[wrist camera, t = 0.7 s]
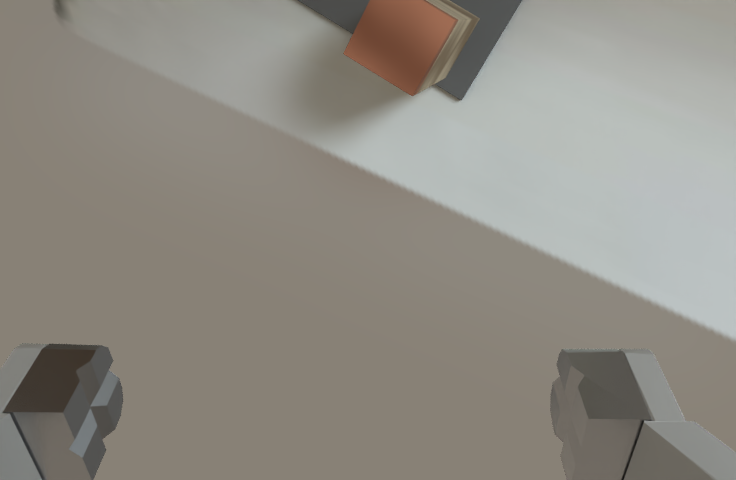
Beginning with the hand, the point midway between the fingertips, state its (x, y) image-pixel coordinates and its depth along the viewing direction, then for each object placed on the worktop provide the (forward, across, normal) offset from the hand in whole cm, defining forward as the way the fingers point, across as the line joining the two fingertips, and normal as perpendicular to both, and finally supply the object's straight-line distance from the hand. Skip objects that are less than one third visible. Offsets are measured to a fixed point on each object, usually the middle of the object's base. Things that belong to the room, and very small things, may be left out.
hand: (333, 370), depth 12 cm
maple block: (+37, -4, +5) cm, 37 cm away
